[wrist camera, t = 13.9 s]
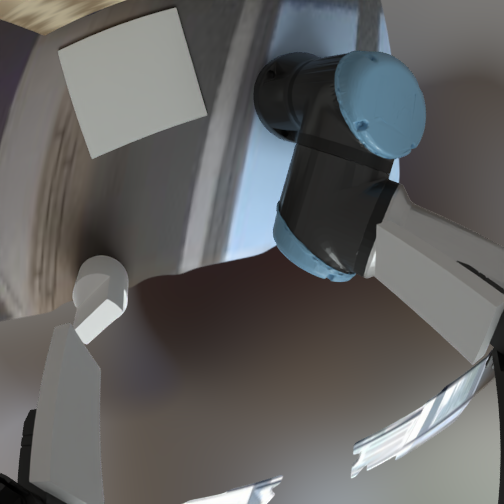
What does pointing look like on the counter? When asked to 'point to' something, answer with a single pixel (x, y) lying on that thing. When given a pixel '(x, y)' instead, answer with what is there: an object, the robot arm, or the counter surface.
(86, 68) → the grey mat
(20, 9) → the wooden cover
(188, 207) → the counter surface
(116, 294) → the cylinder with rectangular tab
